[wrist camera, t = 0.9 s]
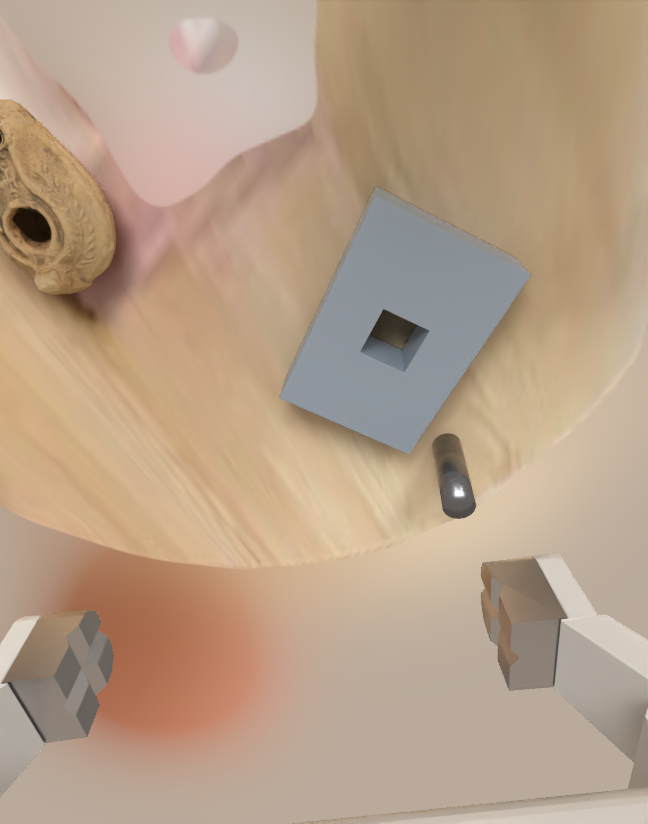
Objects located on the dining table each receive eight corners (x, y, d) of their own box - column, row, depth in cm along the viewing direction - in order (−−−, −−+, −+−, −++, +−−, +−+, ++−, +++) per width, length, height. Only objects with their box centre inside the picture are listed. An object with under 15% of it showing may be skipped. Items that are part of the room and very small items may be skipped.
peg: (442, 429, 56) (453, 489, 48) (466, 440, 57) (482, 501, 48) (427, 449, 58) (436, 511, 49) (451, 460, 58) (464, 522, 49)
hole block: (375, 186, 44) (375, 195, 40) (517, 258, 46) (531, 274, 42) (286, 374, 54) (279, 398, 50) (406, 427, 56) (408, 454, 52)
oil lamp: (56, 79, 42) (-6, 74, 36) (155, 253, 49) (119, 277, 42) (-42, 138, 45) (-117, 145, 39) (64, 295, 52) (17, 325, 45)
